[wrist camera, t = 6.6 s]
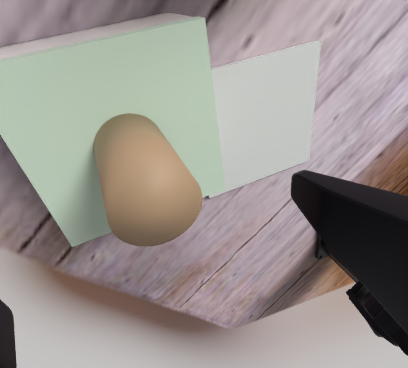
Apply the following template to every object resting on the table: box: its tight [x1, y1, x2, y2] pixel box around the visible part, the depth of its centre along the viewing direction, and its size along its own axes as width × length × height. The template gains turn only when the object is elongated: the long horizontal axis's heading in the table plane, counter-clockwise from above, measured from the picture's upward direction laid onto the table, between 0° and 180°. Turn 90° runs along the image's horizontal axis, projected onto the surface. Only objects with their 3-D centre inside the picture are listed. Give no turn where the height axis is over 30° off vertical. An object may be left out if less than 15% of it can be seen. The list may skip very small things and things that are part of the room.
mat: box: [208, 40, 321, 198], centre depth 22 cm, size 10×10×1 cm
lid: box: [0, 16, 225, 247], centre depth 12 cm, size 9×9×6 cm
